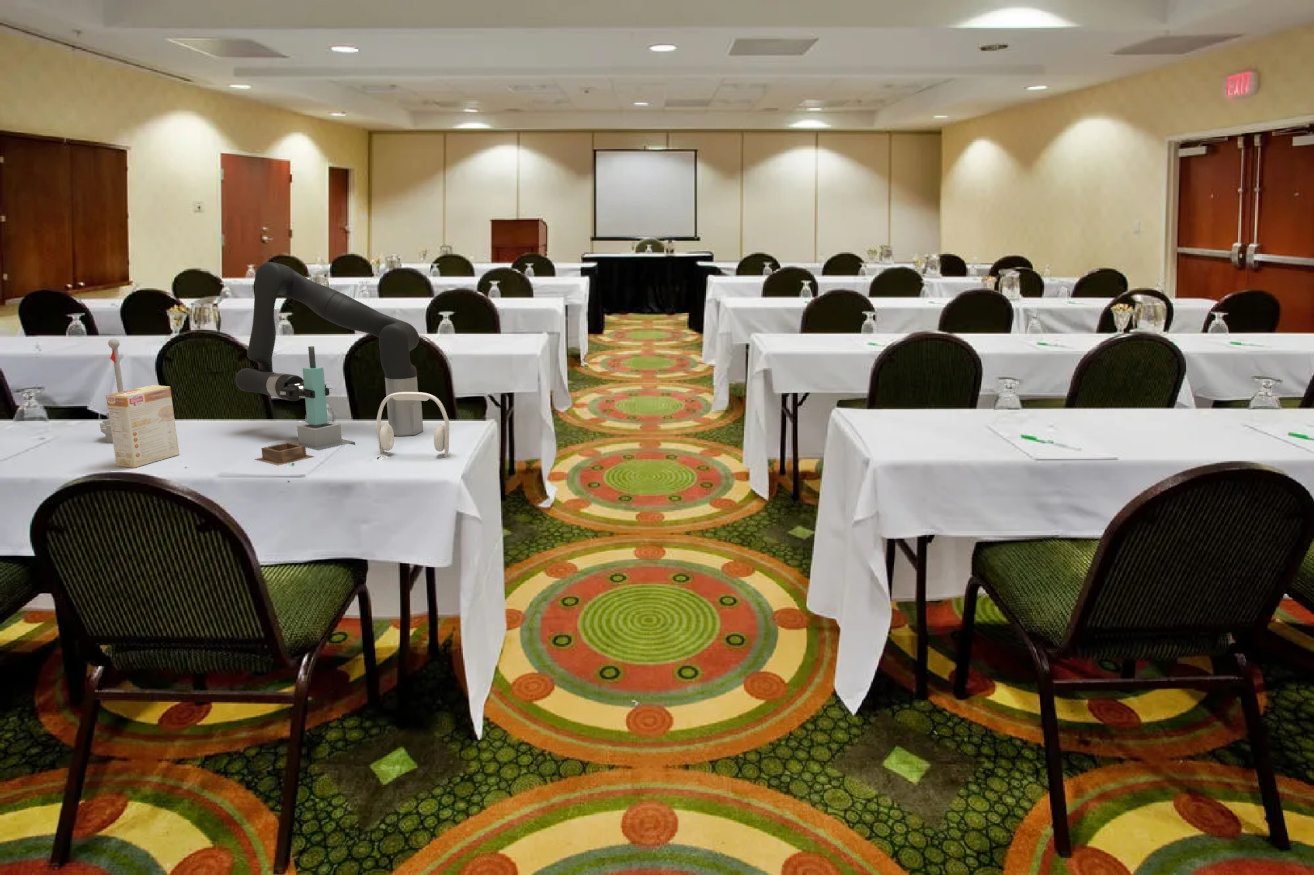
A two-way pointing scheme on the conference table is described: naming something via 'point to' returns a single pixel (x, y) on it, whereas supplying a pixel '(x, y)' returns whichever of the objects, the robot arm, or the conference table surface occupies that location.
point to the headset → (386, 430)
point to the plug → (315, 382)
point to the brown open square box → (283, 453)
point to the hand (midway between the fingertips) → (320, 393)
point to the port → (320, 436)
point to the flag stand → (115, 358)
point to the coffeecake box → (142, 425)
